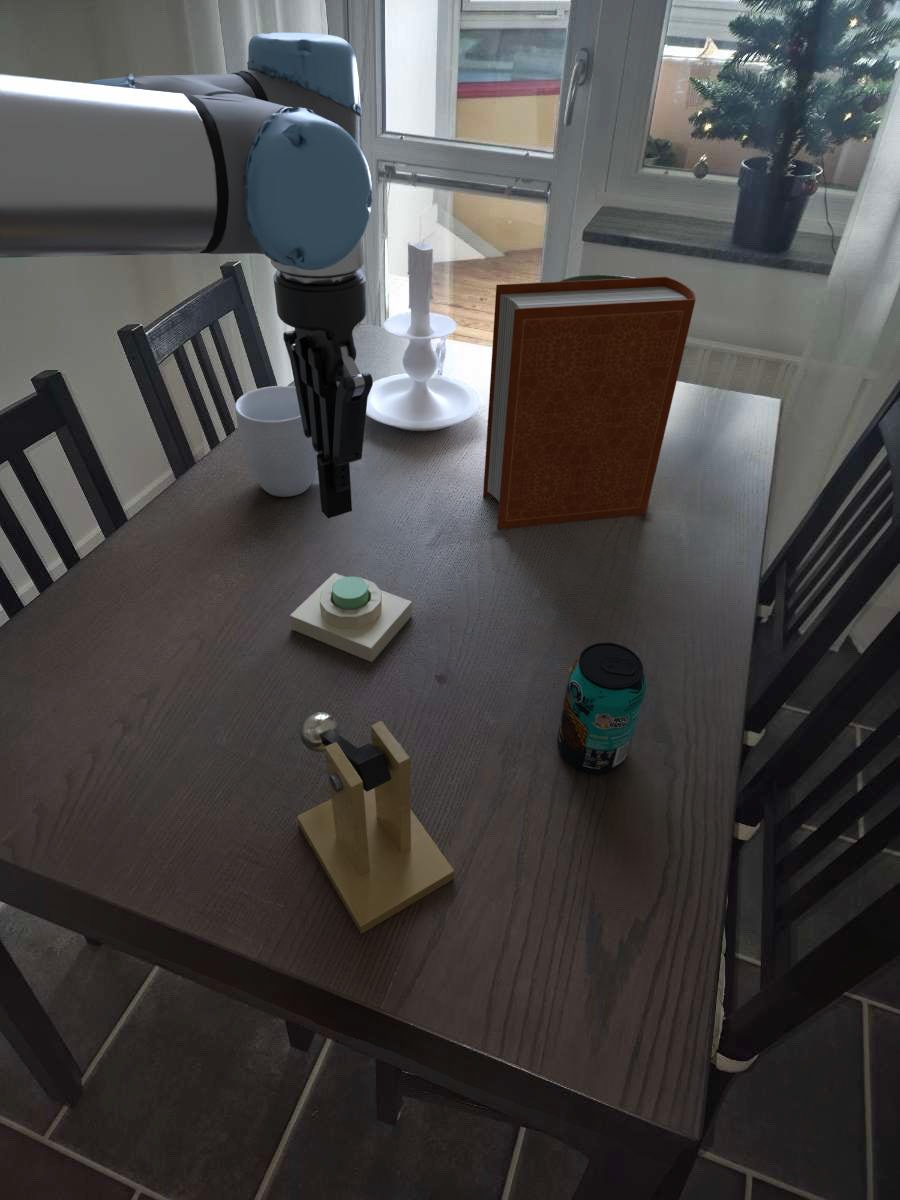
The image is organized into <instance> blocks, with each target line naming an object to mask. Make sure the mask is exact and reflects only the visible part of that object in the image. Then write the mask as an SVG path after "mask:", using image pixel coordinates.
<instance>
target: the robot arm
mask: <svg viewBox="0 0 900 1200" xmlns="http://www.w3.org/2000/svg"><path fill="white" fill-rule="evenodd" d="M247 47H248V48H247V49H248V50H247V52H248V53H247V55H248V57H247V58H248V59H247V60H248V61H247V62H246V65H247V67H246V68H247V69H246V70H240V71H238V72H231V73H215V74H209V73H208V74H175V75H174V74H173V75H172V74H171V75H169V74H168V75H135V74H134V73H127V74H126V75H125V76H123V77H121V76H120V77H113V78H103V79H94V80H91V81H89V82H79V81H69V80H62V79H61V80H59V79H51V78H42V77H34V76H26V75H25V76H24V75H15V74H6V73H0V259H1V258H2V259H5V258H6V259H7V258H8V259H9V258H11V259H12V258H51V257H53V258H54V257H95V256H96V257H97V256H98V257H99V256H100V257H101V256H102V257H103V256H105V257H106V256H136V255H137V256H145V255H146V256H147V255H148V256H149V255H190V254H191V255H194V254H195V255H196V254H199V255H200V254H207V255H208V254H209V255H241V254H242V255H243V254H244V255H247V254H257V255H258V254H259V255H265V257H266V258H268V259H269V260H270V264H271V265H272V267H273V268H274V269H275V270H276V272H274V274H273V287H274V297H275V302H276V303H275V306H276V312H277V316H278V318H279V319H280V321H282V322H283V323H284V324H285V325H287V326H289V327H292V328H294V330H289V331H284V332H283V334H282V337H283V338H282V339H283V342H284V345H285V348H286V351H287V354H288V358H289V361H290V368H291V372H292V377H293V382H294V387H295V388H296V393H297V399H298V404H299V409H300V414H301V420H302V425H303V430H304V434H305V436H306V437H307V438H310V437H312V446H313V448H314V450H315V451H316V452H318V455H317V465H318V470H317V474H318V486H319V497H320V498H319V499H320V508H321V509H320V511H321V513H322V514H323V515H324V516H325V517H326V518H327V519H331V518H334V517H338V516H341V515H344V514H347V513H350V512H353V502H352V483H351V468H350V467H351V466H350V463H353V462H356V461H361V460H362V458H363V449H364V439H365V428H366V419H367V415H366V409H367V399H368V395H369V393H370V390H371V388H372V385H373V382H374V380H373V377H372V374H371V373H370V372H364V373H361V372H360V370H359V368H358V366H357V364H356V362H355V361H356V358H357V347H356V344H355V339H354V335H353V331H354V330H355V328H356V327H357V325H359V324H360V323H361V322H362V321H364V319H365V318H366V317H367V313H368V303H367V302H368V301H367V300H368V299H367V277H366V276H367V275H366V274H365V272H364V271H363V270H362V268H363V267H364V265H365V262H366V259H365V237H364V236H365V235H364V234H365V232H366V230H367V228H368V227H367V226H368V223H369V221H370V217H371V211H372V203H373V198H372V197H373V196H372V194H373V183H372V176H371V171H370V168H369V165H368V161H367V159H366V157H365V154H364V152H363V151H362V117H363V109H362V107H361V93H360V81H359V80H360V79H359V73H358V64H357V56H356V53H355V51H354V48H353V47H352V45H351V44H350V43H349V42H348V41H347V40H346V39H344V38H342V37H340V36H337V35H332V34H324V33H314V32H313V33H312V32H269V33H258V34H255V35H253V36H252V37H251V38H250V39H249V42H248V46H247Z"/></svg>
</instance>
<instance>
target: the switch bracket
mask: <svg viewBox="0 0 900 1200" xmlns="http://www.w3.org/2000/svg"><path fill="white" fill-rule="evenodd" d="M370 736H371V745H373V746H374V747H376V748H377V749H379V750H380V751H382V752H383V753H384V756H385V760H386V763H387V766H388V769H389V772H390V776H391V780H389V781H387V782H386V783H384V784H382V785H380V786H378V787H376V788H374V789H372V790H370V791H368V792H366V791H365V790H364V789H363V781H362V779H361V778H360V776H359V775H358V774H357V772H356V771H355V769H354V768H353V766H352V765H351V763H350V762H349V760H348V759H347V757H346V756H345V754H344V753H343V751H342V750H341V748H340V747H339V745H338V744H337V742H334V743H332V744H330V745H328V746H326V747H325V760H326V768H327V776H328V783H329V784H328V785H329V791H330V792H329V793H330V799H328V800H326V801H324V802H322V803H320V804H318V805H316V806H314V807H312V808H310V809H308V810H306V811H304V812H302V813H299V814H298V815H297V816H296V819H297V825H298V827H299V828H300V830H301V832H302V833H303V836H304V837H305V839H306V841H307V843H308V844H309V846H310V848H311V849H312V851H313V853H314V855H315V857H316V858H317V860H318V861H319V863H320V865H321V867H322V868H323V870H324V873H325V874H326V876H327V877H328V878H329V881H330V883H331V884H332V886H333V888H334V890H335V891H336V893H337V895H338V896H339V898H340V900H341V902H342V903H343V905H344V908H345V909H346V911H347V912H348V914H349V916H350V918H351V919H352V921H353V923H354V924H355V926H356V928H357V930H358V931H359V933H360V935H362V934H364V933H366V932H367V931H369V930H371V929H372V928H374V927H375V926H377V925H379V924H381V923H383V922H384V921H385V920H387V919H389V918H391V917H393V916H394V915H396V914H398V913H399V912H401V911H402V910H405V909H406V908H407V907H409V906H411V905H412V904H415V903H416V902H418V901H419V900H421V899H423V898H425V897H426V896H427V895H430V893H432V892H435V891H436V890H437V889H439V888H441V887H442V886H444V885H446V884H447V883H449V882H451V881H453V880H454V879H455V870H454V868H453V866H452V865H451V864H450V863H449V861H448V860H447V858H446V857H445V856H444V854H443V852H442V851H441V850H440V848H439V846H437V844H436V843H435V841H434V840H433V839H432V837H431V835H430V834H429V833H428V831H427V830H426V829H425V827H424V826H423V825H422V822H420V820H419V818H417V816H416V814H415V813H414V811H413V810H412V808H411V759H410V756H409V755H408V754H407V753H406V751H405V749H404V747H403V745H402V744H401V743H400V742H398V741H397V739H396V738H395V736H394V735H393V733H391V731H390V730H389V728H388V727H387V726H386V725H385V723H384V722H383V720H379V721H378V722H375V723H373V724H371V725H370Z"/></svg>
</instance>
